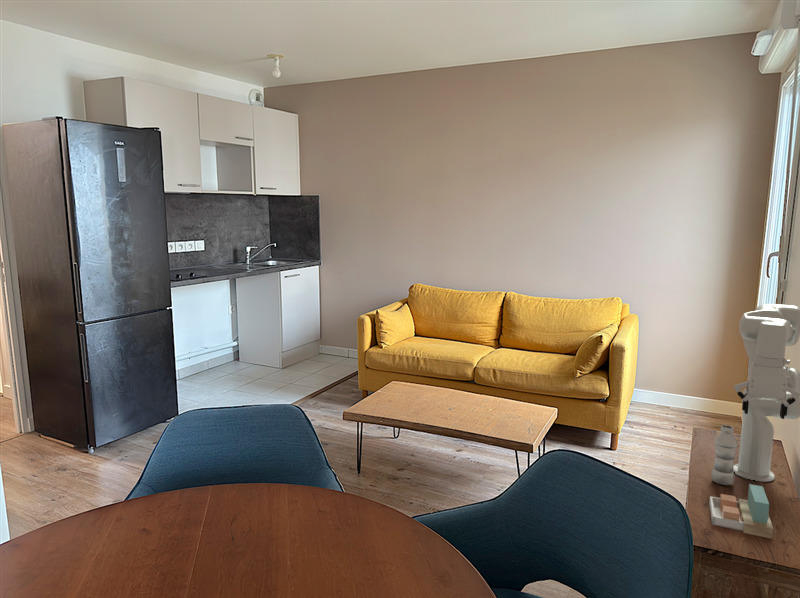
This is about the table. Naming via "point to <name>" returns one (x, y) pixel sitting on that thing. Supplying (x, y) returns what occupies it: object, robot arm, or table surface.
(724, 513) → the peach cube
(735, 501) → the tan cube
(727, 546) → the table surface
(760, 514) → the bar
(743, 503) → the beige gold flat block
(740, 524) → the tray
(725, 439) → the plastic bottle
